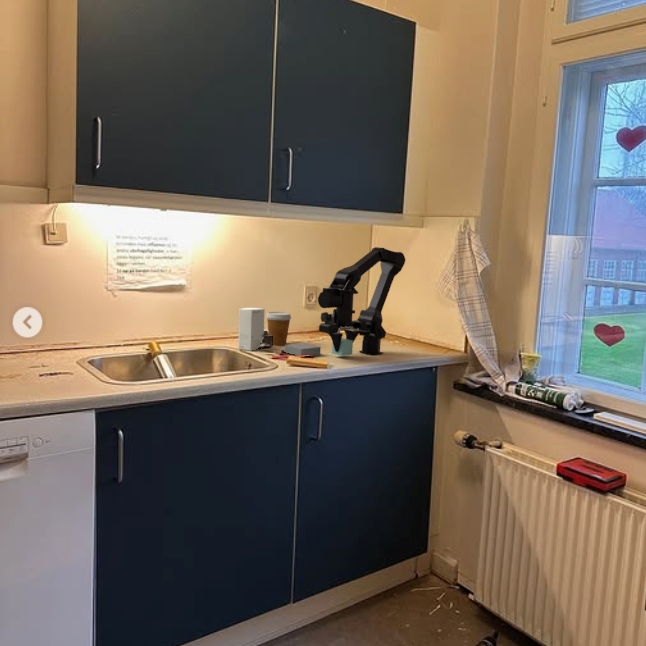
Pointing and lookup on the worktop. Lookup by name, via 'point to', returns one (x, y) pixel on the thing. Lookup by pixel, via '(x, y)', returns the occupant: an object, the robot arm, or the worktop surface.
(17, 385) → the worktop surface
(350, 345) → the teal cube
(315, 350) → the block
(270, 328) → the disposable coffee cup
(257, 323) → the skincare box
